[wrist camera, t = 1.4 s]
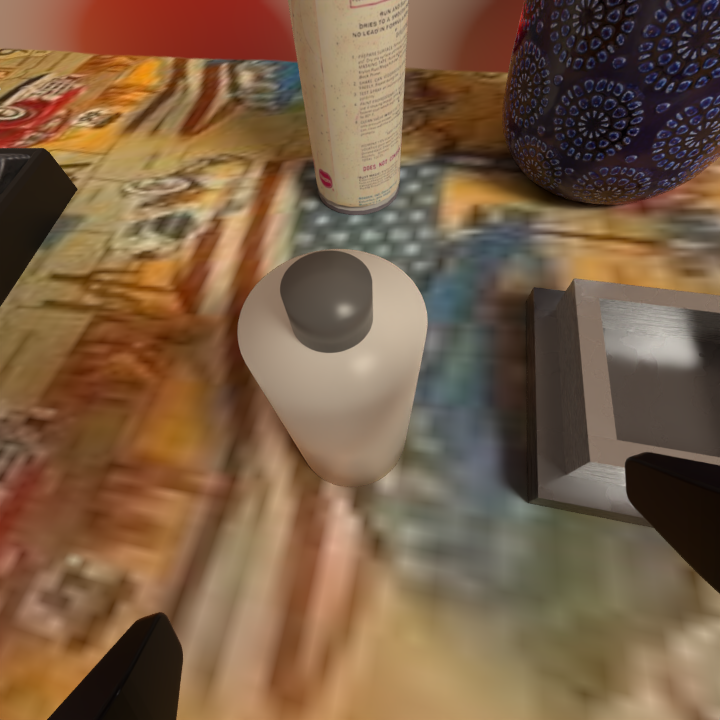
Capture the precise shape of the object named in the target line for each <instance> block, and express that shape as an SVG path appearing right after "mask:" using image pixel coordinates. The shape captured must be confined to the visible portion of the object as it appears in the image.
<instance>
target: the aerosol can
mask: <svg viewBox="0 0 720 720" xmlns="http://www.w3.org/2000/svg"><path fill="white" fill-rule="evenodd" d="M408 1H409V0H288V3H289V10H290V16H291V22H292V29H293V35H294V41H295V48H296V54H297V59H298V67H299V73H300V80H301V86H302V92H303V99H304V105H305V111H306V118H307V124H308V130H309V137H310V143H311V149H312V156H313V162H314V168H315V175H316V181H317V186H318V193H319V196H320V198H321V201H322V202H323V203H324V204H325V205H326V206H328V207H329V208H331V209H333V210H335V211H337V212H339V213H344V214H349V215H364V214H369V213H373V212H377V211H379V210H381V209H383V208H385V207H387V206H388V205H389V204H390V203H391V202H392V201H393V200H394V199H395V198H396V196H397V194H398V191H399V180H400V160H401V141H402V121H403V101H404V81H405V61H406V42H407V21H408Z"/></svg>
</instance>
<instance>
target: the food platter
mask: <svg viewBox="0 0 720 720" xmlns="http://www.w3.org/2000/svg"><path fill="white" fill-rule="evenodd" d="M76 191H77V188H76V186H75V185H74V184H73V183H72V181H71V180H70V179H69V177H68V176H67V175H66V173H65V172H64V171H63V170H62V168H61V167H60V166H59V164H58V163H57V162H56V160H55V159H54V158H53V157H52V155H51V154H50V153H49V152H48V151H47V150H45V149H44V148H0V306H1V305H2V303H3V302H4V300H5V299H6V297H7V296H8V294H9V293H10V291H11V290H12V288H13V287H14V285H15V284H16V282H17V280H18V279H19V277H20V276H21V274H22V273H23V271H24V270H25V268H26V267H27V265H28V264H29V262H30V261H31V259H32V258H33V256H34V255H35V253H36V252H37V250H38V249H39V247H40V246H41V244H42V242H43V241H44V239H45V238H46V236H47V235H48V233H49V232H50V230H51V229H52V227H53V226H54V224H55V223H56V221H57V220H58V218H59V217H60V215H61V214H62V212H63V211H64V209H65V208H66V206H67V204H68V203H69V201H70V200H71V198H72V197H73V195H74V194H75V192H76Z"/></svg>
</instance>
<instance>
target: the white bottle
mask: <svg viewBox="0 0 720 720" xmlns="http://www.w3.org/2000/svg"><path fill="white" fill-rule="evenodd" d="M427 324H428V323H427V311H426V307H425V303H424V300H423V298H422V295H421V293H420V291H419V290H418V288H417V286H416V285H415V284H414V282H413V281H412V280H411V279H410V277H409V276H408V275H406V274H405V273H404V272H403V271H402V270H401V269H400V268H398V267H397V266H395V265H394V264H392V263H391V262H389V261H387V260H385V259H383V258H381V257H378V256H376V255H373V254H369V253H366V252H362V251H356V250H348V249H330V250H321V251H316V252H311V253H307V254H304V255H300V256H298V257H295V258H293V259H291V260H289V261H287V262H285V263H283V264H281V265H279V266H278V267H276V268H275V269H273V270H272V271H271V272H269V273H268V274H267V275H266V276H264V277H263V278H262V279H261V280H260V281H259V282H258V284H257V285H256V286H255V287H254V288H253V290H252V291H251V292H250V294H249V295H248V297H247V299H246V301H245V303H244V305H243V308H242V310H241V313H240V317H239V321H238V332H237V333H238V343H239V347H240V352H241V354H242V357H243V359H244V361H245V363H246V365H247V366H248V368H249V370H250V371H251V373H252V375H253V376H254V378H255V379H256V381H257V383H258V384H259V386H260V388H261V389H262V391H263V392H264V394H265V396H266V397H267V399H268V400H269V402H270V404H271V405H272V407H273V409H274V410H275V412H276V413H277V415H278V417H279V418H280V420H281V422H282V423H283V425H284V426H285V428H286V430H287V431H288V433H289V434H290V436H291V438H292V439H293V441H294V443H295V444H296V446H297V447H298V449H299V451H300V452H301V454H302V456H303V457H304V459H305V460H306V462H307V464H308V465H309V467H310V468H311V469H312V470H313V471H314V472H315V473H316V474H317V475H318V476H319V477H321V478H322V479H324V480H325V481H328V482H330V483H332V484H335V485H338V486H343V487H360V486H365V485H368V484H371V483H374V482H376V481H378V480H379V479H381V478H383V477H384V476H385V475H387V474H388V473H389V472H390V471H391V470H392V469H393V468H394V466H395V465H396V464H397V462H398V461H399V459H400V457H401V455H402V452H403V449H404V446H405V441H406V436H407V431H408V426H409V421H410V415H411V410H412V405H413V400H414V395H415V390H416V385H417V380H418V375H419V369H420V364H421V359H422V354H423V349H424V344H425V339H426V333H427Z"/></svg>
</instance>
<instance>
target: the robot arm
mask: <svg viewBox="0 0 720 720" xmlns="http://www.w3.org/2000/svg"><path fill="white" fill-rule="evenodd" d="M625 481H626V494H627V497H628V499H629V501H630V503H631V504H632V505H633V506H634V508H635V509H636V510H637V511H638V512H639V513H640V514H641V515H642V516H643V517H644V518H645V519H646V520H647V521H648V522H649V523H650V524H651V525H652V526H653V527H654V529H655V530H656V531H657V532H658V533H659V534H660V535H661V536H662V537H663V538H664V539H665V540H666V541H667V542H668V543H669V544H670V545H671V546H672V547H673V548H674V549H675V550H676V552H677V553H678V554H679V555H680V556H681V557H682V558H683V559H684V560H685V561H686V562H687V563H688V564H689V565H690V566H691V567H692V568H693V569H694V570H695V571H696V572H697V573H698V574H699V575H700V576H701V577H702V578H703V579H704V580H705V581H706V582H708V583H709V584H710V585H711V586H712V587H713V588H714V589H715V590H716V591H717V592H718V593H720V465H716V464H710V463H705V462H700V461H695V460H689V459H684V458H679V457H674V456H668V455H663V454H658V453H653V452H643V453H640V454H637V455H634V456H631V457H629V458H627V459H626V462H625ZM182 664H183V651H182V647H181V644H180V642H179V640H178V637H177V635H176V633H175V631H174V629H173V627H172V625H171V623H170V621H169V619H168V617H167V616H166V615H165V614H164V613H162V612H159V613H155V614H152V615H149V616H146V617H143V618H141V619H139V620H137V621H136V622H135V623H134V624H133V625H132V626H131V627H130V628H129V629H128V630H127V631H126V633H125V634H124V635H123V636H122V637H121V638H120V639H119V640H118V641H117V643H116V644H115V645H114V646H113V647H112V648H111V649H110V650H109V651H108V653H107V654H106V655H105V656H104V657H103V658H102V659H101V660H100V661H99V663H98V664H97V665H96V666H95V667H94V668H93V669H92V670H91V671H90V673H89V674H88V675H87V676H86V677H85V678H84V679H83V680H82V681H81V683H80V684H79V685H78V686H77V687H76V688H75V689H74V690H73V691H72V693H71V694H70V695H69V696H68V697H67V698H66V699H65V700H64V701H63V703H62V704H61V705H60V706H59V707H58V708H57V709H56V710H55V711H54V713H53V714H52V715H51V716H50V717H49V718H48V719H47V720H176V717H177V708H178V699H179V691H180V682H181V673H182Z"/></svg>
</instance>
